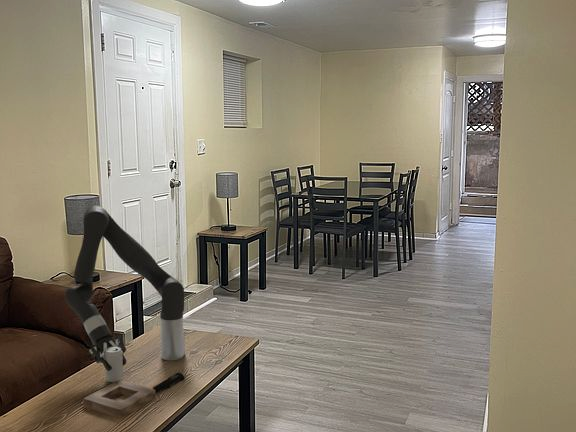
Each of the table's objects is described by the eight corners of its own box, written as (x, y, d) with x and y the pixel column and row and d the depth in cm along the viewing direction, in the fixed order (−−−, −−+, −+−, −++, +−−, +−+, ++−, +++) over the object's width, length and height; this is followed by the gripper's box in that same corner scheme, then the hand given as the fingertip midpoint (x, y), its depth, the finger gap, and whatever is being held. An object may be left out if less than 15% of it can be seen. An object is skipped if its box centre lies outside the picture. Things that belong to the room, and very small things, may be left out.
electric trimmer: (149, 393, 208) (149, 385, 208) (177, 377, 222) (177, 369, 221) (157, 396, 206) (157, 387, 206) (185, 379, 220) (185, 371, 219)
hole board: (119, 387, 212) (119, 379, 211) (155, 397, 204) (155, 389, 204) (83, 406, 197) (83, 398, 196) (121, 418, 189) (120, 409, 189)
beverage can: (118, 383, 214) (116, 353, 212) (102, 382, 215) (101, 351, 213) (126, 376, 220) (125, 346, 218) (110, 374, 221) (109, 345, 219)
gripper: (84, 329, 213) (105, 368, 208) (117, 319, 225) (137, 356, 219) (77, 340, 217) (97, 378, 212) (109, 329, 229) (129, 365, 223)
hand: (117, 366), depth 216 cm, fingers closed on beverage can, 5 cm apart
